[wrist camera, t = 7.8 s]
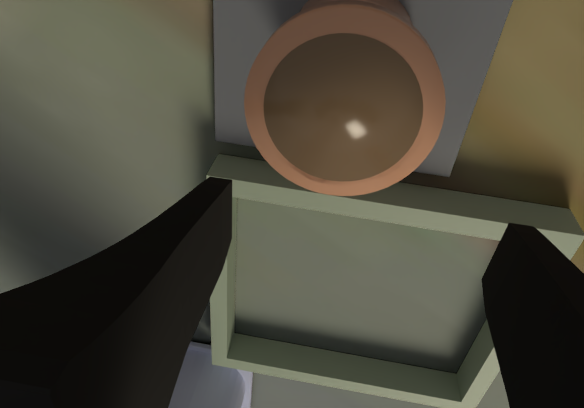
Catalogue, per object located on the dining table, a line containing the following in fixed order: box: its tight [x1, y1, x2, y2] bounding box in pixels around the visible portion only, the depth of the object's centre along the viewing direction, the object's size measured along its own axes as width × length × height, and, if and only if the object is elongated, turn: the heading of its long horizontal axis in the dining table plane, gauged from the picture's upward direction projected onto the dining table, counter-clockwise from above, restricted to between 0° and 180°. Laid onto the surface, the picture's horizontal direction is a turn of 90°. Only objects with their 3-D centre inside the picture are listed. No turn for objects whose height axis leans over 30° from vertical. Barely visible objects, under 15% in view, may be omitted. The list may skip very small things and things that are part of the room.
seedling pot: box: [244, 0, 446, 196], centre depth 15 cm, size 6×6×6 cm
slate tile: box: [213, 0, 513, 177], centre depth 18 cm, size 11×11×1 cm
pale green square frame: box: [206, 154, 584, 408], centre depth 25 cm, size 17×15×2 cm
